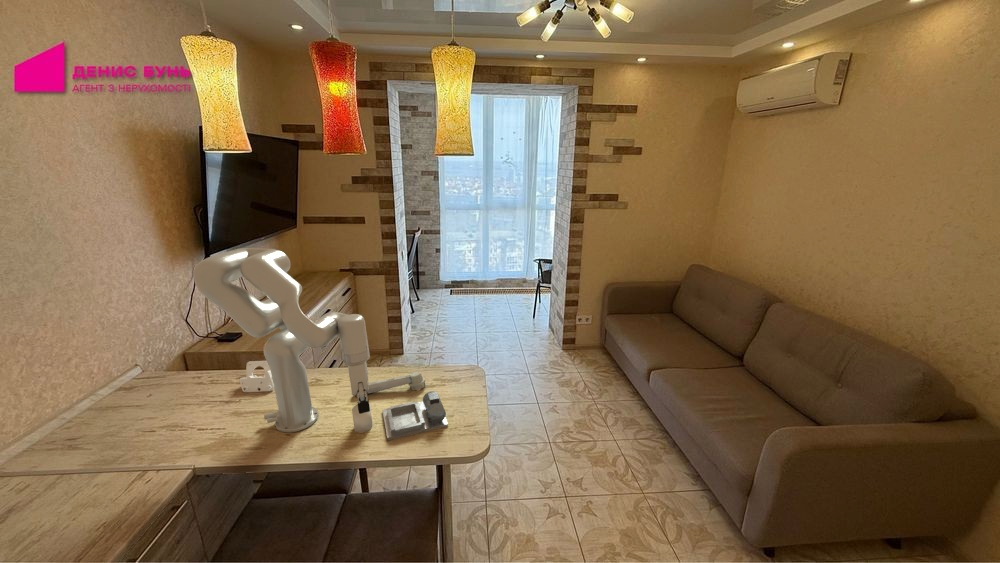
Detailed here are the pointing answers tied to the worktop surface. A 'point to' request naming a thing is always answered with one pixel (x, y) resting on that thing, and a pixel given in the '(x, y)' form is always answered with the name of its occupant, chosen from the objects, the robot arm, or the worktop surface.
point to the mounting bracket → (257, 378)
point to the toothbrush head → (398, 383)
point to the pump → (361, 420)
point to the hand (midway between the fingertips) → (363, 403)
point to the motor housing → (415, 417)
